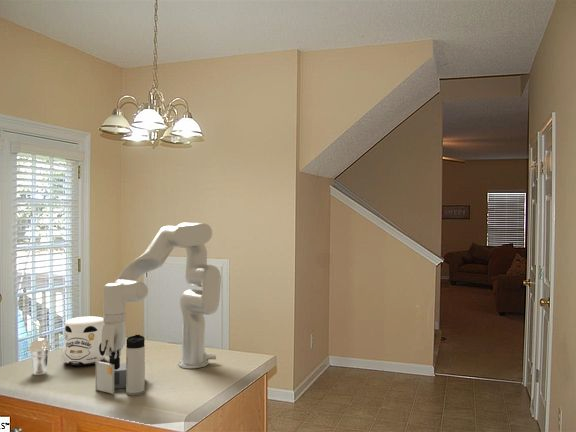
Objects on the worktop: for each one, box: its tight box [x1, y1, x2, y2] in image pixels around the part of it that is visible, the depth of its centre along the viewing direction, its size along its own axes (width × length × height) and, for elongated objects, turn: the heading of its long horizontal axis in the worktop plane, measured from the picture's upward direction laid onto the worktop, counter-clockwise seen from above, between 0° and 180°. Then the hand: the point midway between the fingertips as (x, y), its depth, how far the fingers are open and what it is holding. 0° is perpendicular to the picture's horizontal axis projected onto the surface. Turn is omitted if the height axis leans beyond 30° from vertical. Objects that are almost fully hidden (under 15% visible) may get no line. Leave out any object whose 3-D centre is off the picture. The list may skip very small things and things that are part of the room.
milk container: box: [62, 315, 107, 367], centre depth 214 cm, size 17×17×18 cm
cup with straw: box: [27, 320, 53, 376], centre depth 199 cm, size 8×9×20 cm
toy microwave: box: [114, 363, 126, 389], centre depth 187 cm, size 16×9×7 cm, turn 103°
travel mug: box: [125, 334, 146, 397], centre depth 179 cm, size 6×7×20 cm
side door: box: [95, 361, 115, 394], centre depth 179 cm, size 9×2×10 cm, turn 62°
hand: (114, 368), depth 180 cm, fingers closed
